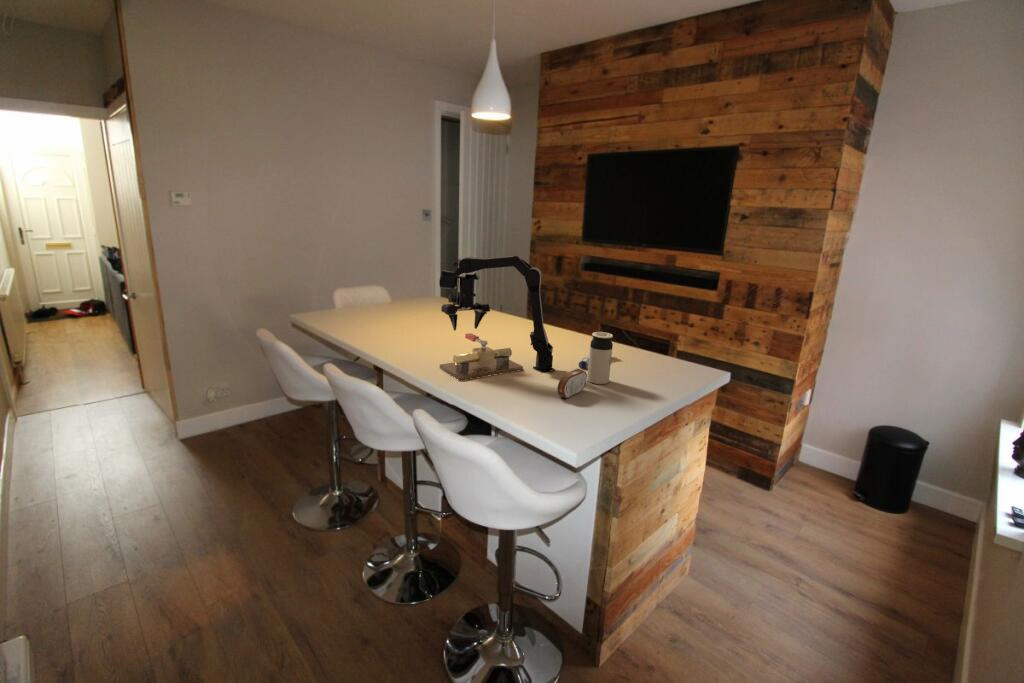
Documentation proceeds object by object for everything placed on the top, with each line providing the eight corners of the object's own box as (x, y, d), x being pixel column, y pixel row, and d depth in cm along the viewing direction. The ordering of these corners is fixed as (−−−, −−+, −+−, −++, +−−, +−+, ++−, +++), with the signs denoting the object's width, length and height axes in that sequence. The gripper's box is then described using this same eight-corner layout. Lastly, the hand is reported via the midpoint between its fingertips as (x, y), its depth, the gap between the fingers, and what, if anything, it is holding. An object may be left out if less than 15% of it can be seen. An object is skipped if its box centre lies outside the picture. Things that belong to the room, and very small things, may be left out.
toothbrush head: (577, 359, 193) (603, 339, 212) (576, 374, 195) (602, 353, 214) (588, 362, 190) (614, 341, 209) (588, 377, 192) (614, 355, 211)
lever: (488, 345, 183) (489, 341, 182) (482, 346, 181) (482, 342, 181) (471, 337, 193) (471, 333, 193) (464, 337, 192) (465, 333, 191)
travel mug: (584, 382, 178) (588, 334, 173) (591, 376, 185) (595, 330, 180) (604, 386, 174) (610, 338, 170) (611, 380, 181) (616, 334, 176)
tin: (579, 388, 171) (581, 365, 169) (587, 390, 170) (589, 367, 167) (555, 399, 160) (557, 375, 158) (563, 401, 158) (565, 377, 156)
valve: (522, 370, 188) (524, 345, 185) (459, 381, 172) (459, 354, 170) (500, 358, 200) (501, 335, 198) (439, 368, 185) (439, 343, 182)
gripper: (478, 286, 197) (476, 323, 201) (435, 287, 187) (435, 326, 191) (491, 290, 188) (489, 329, 192) (448, 292, 178) (447, 333, 182)
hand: (465, 329), depth 190 cm, fingers open, 9 cm apart
